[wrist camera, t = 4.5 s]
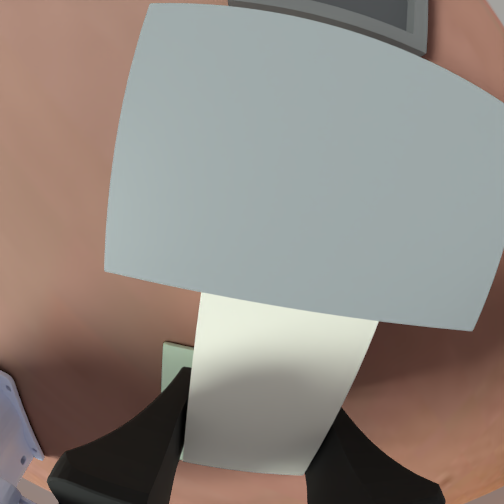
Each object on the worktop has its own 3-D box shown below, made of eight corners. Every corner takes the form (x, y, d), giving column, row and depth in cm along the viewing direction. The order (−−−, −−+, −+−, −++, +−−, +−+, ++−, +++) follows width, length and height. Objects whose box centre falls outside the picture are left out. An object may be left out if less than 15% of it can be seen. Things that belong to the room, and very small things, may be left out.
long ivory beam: (294, 407, 13) (302, 475, 9) (197, 393, 13) (182, 461, 9) (373, 136, 10) (430, 129, 6) (246, 106, 10) (239, 75, 6)
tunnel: (385, 254, 11) (472, 331, 6) (178, 213, 11) (104, 270, 5) (413, 129, 10) (526, 119, 4) (203, 77, 10) (150, 3, 4)
